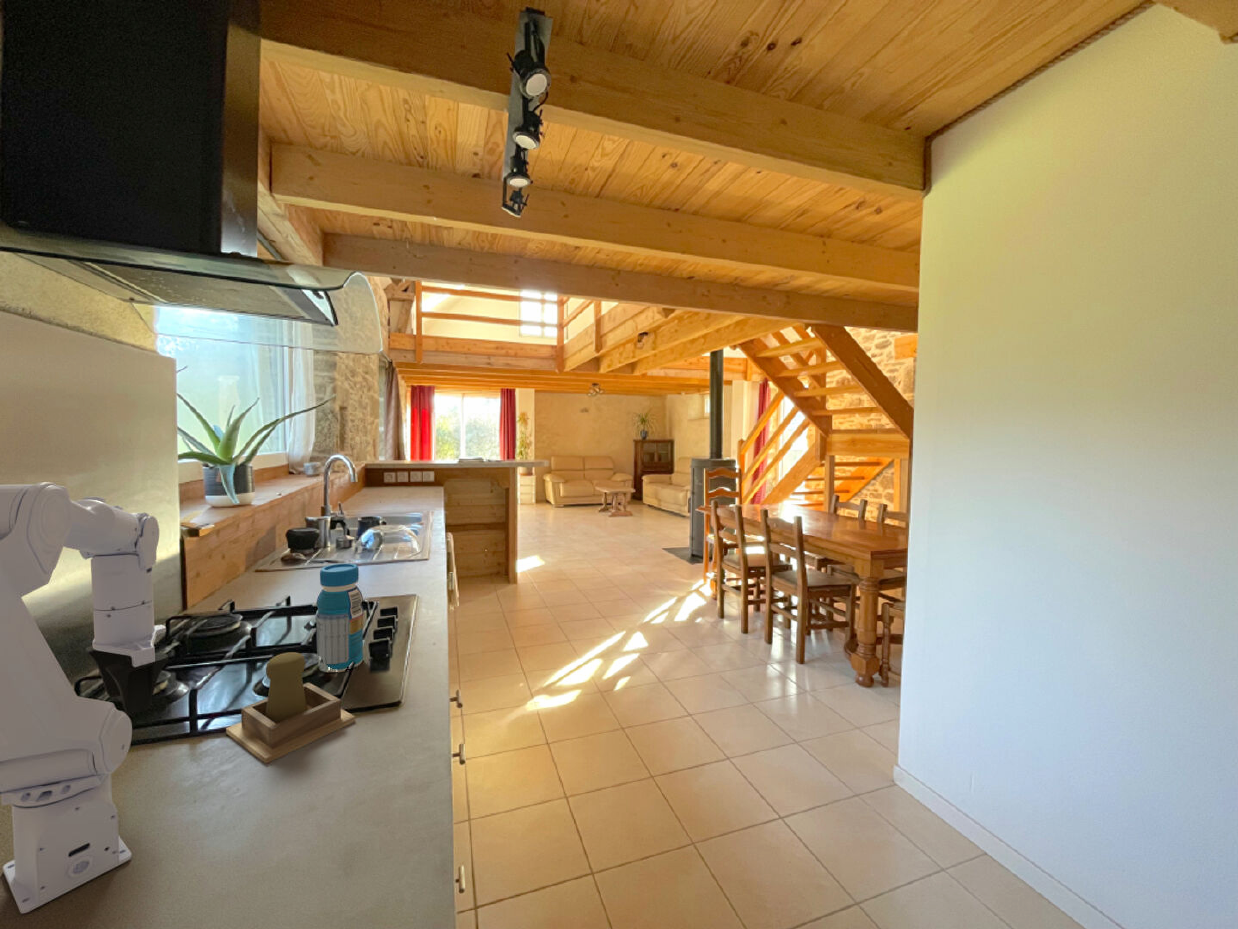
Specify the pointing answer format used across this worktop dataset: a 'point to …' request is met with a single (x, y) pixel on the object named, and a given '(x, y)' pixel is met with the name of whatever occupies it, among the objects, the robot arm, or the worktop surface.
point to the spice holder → (289, 725)
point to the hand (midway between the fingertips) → (128, 701)
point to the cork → (285, 687)
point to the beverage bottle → (340, 617)
